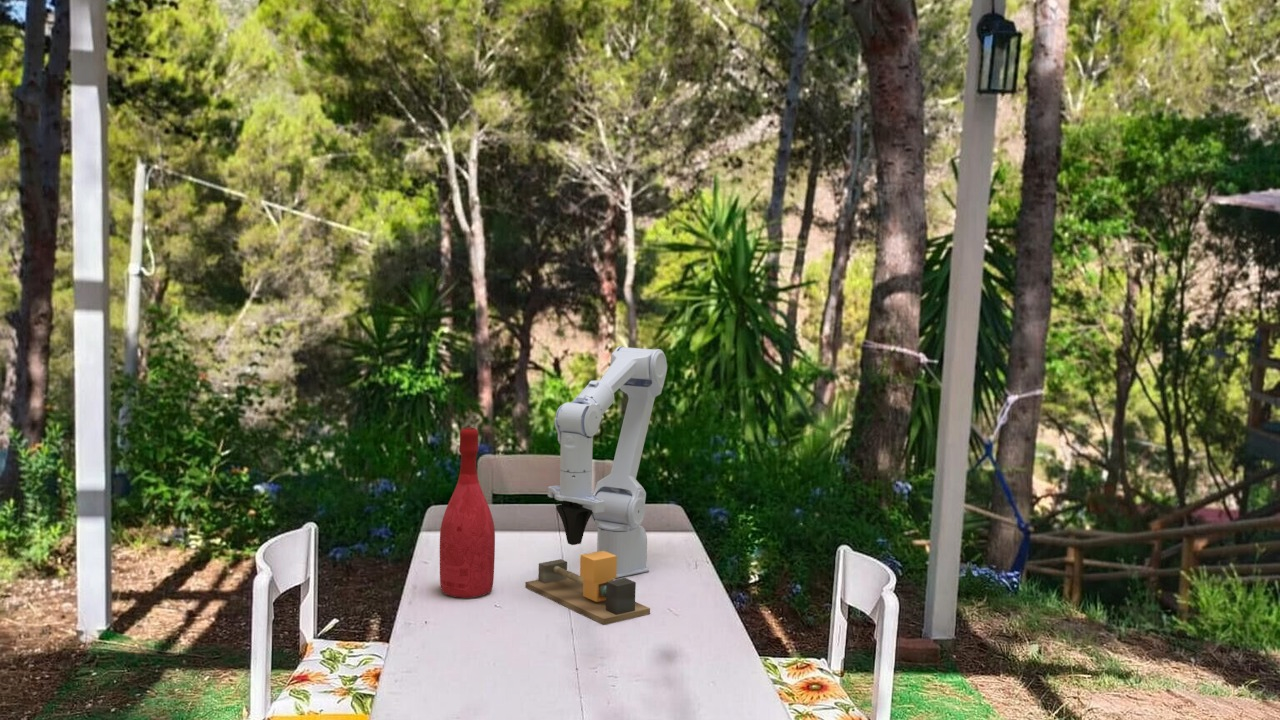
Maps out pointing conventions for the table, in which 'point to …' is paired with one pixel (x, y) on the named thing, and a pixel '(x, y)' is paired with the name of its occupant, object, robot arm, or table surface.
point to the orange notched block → (597, 572)
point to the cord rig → (570, 594)
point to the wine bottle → (467, 530)
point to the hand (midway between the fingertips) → (574, 543)
